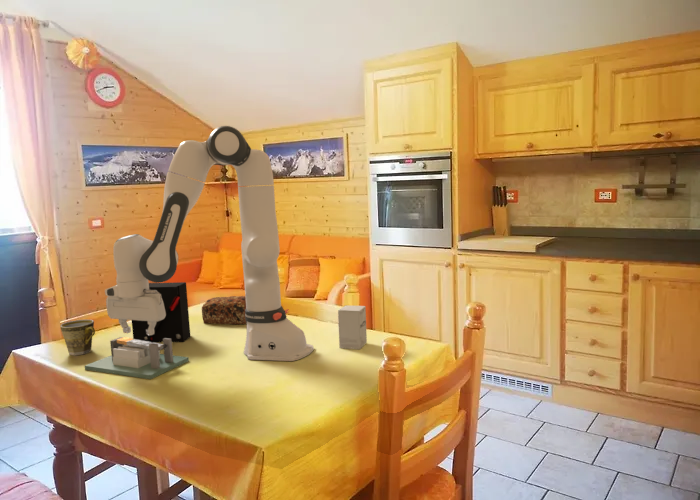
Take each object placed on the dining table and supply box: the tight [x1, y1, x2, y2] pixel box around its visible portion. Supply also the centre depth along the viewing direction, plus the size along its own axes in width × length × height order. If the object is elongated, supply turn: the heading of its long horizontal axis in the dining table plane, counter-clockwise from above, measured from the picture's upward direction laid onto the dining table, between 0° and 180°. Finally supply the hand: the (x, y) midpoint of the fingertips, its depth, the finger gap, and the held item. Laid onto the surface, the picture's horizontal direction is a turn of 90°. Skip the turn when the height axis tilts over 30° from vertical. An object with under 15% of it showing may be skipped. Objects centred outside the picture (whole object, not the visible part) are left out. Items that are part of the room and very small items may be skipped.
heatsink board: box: [84, 336, 190, 380], centre depth 164 cm, size 26×16×8 cm, turn 66°
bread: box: [201, 295, 247, 325], centre depth 212 cm, size 19×11×10 cm, turn 73°
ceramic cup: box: [60, 319, 96, 356], centre depth 179 cm, size 13×10×10 cm
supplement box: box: [337, 305, 368, 350], centre depth 174 cm, size 7×7×13 cm
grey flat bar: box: [117, 336, 167, 351], centre depth 162 cm, size 17×4×1 cm, turn 66°
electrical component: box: [131, 281, 191, 343], centre depth 189 cm, size 18×10×20 cm, turn 84°
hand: (138, 333), depth 163 cm, fingers open, 8 cm apart
